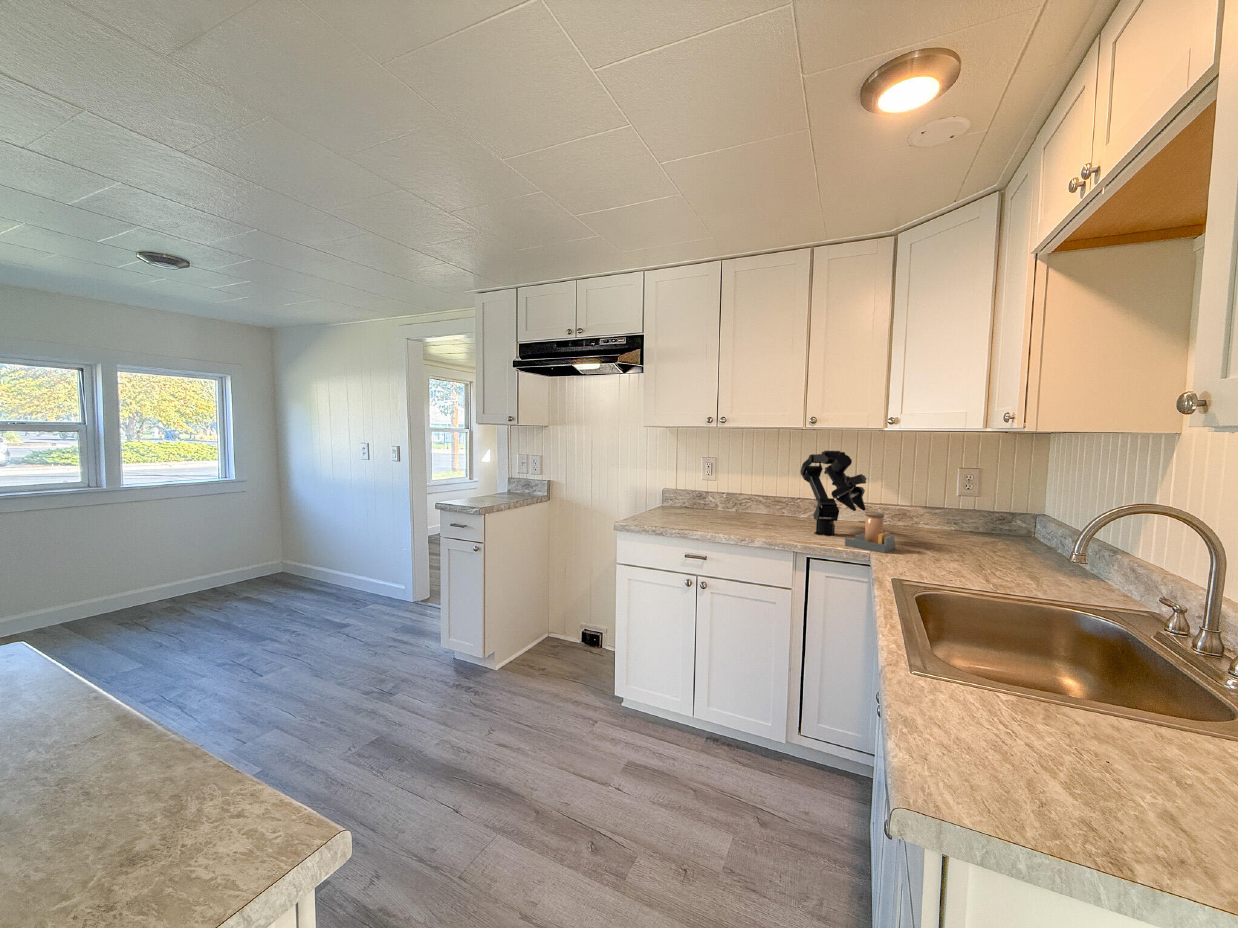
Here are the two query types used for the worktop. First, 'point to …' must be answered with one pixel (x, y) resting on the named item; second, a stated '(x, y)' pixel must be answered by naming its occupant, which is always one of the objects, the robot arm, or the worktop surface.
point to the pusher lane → (871, 544)
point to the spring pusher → (882, 537)
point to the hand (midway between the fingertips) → (860, 510)
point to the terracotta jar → (873, 526)
